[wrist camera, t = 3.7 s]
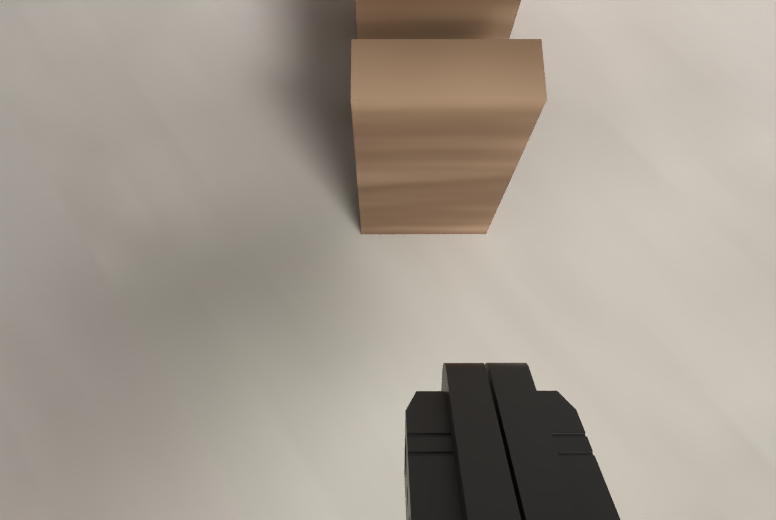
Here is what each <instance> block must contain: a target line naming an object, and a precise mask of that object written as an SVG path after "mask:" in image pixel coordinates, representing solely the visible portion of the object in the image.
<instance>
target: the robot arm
mask: <svg viewBox="0 0 776 520" xmlns="http://www.w3.org/2000/svg"><path fill="white" fill-rule="evenodd" d="M404 475H405V497H406V520H620V518H619V515H618V513H617V510H616V508H615V505H614V503H613V500H612V498H611V495H610V493H609V490H608V488H607V485H606V483H605V480H604V478H603V475H602V473H601V470H600V468H599V466H598V463H597V461H596V458H595V456H594V455H593V453H592V448H591V446H590V443H589V441H588V438H587V437H585V431H584V428H583V426H582V423H581V421H580V418H579V416H578V413H577V411H576V409H575V408H574V407H573V406H572V405H571V404H570V403H569V402H568V401H567V400H566V399H565V398H564V397H563V396H562V395H561V394H560V393H559V392H558V391H536V388H535V385H534V382H533V379H532V376H531V373H530V370H529V367H528V365H527V364H526V363H486V364H485V365H484V363H444V364H443V371H442V390H441V391H416V393H415V395H414V397H413V398H412V400H411V402H410V404H409V406H408V407H407V409H406V419H405V470H404Z"/></svg>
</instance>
